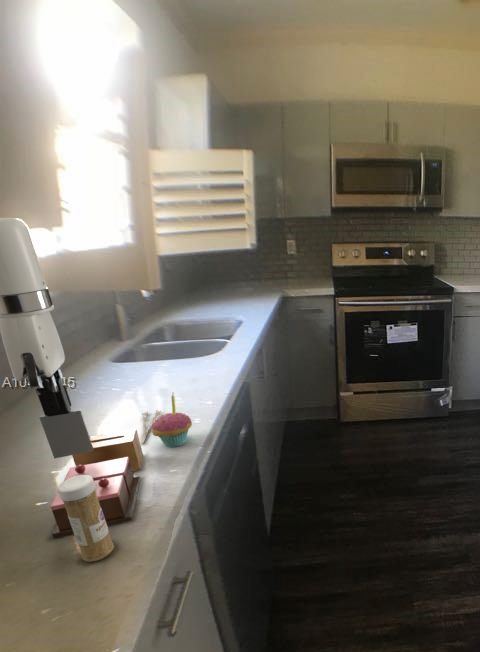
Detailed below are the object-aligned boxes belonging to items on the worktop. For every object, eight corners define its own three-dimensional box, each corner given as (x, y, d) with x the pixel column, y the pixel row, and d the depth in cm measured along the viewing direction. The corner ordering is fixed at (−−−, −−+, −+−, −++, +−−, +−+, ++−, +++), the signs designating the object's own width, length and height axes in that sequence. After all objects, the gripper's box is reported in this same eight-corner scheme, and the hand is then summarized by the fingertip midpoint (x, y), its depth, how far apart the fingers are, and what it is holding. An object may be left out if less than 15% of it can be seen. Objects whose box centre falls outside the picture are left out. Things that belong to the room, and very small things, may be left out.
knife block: (80, 481, 93) (70, 451, 90) (87, 466, 98) (78, 438, 96) (140, 470, 96) (132, 441, 94) (143, 456, 102) (136, 428, 99)
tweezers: (143, 415, 122) (141, 408, 121) (162, 412, 123) (160, 406, 122) (132, 450, 107) (130, 443, 106) (155, 446, 108) (153, 439, 107)
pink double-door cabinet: (53, 538, 77) (39, 501, 74) (73, 492, 89) (62, 460, 87) (131, 520, 81) (121, 485, 78) (140, 479, 93) (132, 447, 90)
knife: (53, 460, 79) (25, 385, 74) (55, 455, 80) (28, 381, 75) (92, 452, 81) (68, 379, 75) (94, 448, 82) (70, 375, 77)
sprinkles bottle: (116, 554, 73) (93, 483, 68) (82, 567, 71) (57, 494, 66) (112, 539, 76) (91, 470, 71) (81, 550, 74) (56, 480, 69)
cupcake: (178, 431, 113) (167, 386, 108) (203, 437, 109) (193, 391, 105) (147, 447, 105) (135, 399, 101) (173, 454, 102) (162, 406, 97)
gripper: (11, 297, 76) (46, 398, 83) (-31, 316, 62) (16, 436, 69) (63, 292, 78) (93, 391, 85) (34, 310, 65) (73, 426, 72)
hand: (58, 410), depth 77 cm, fingers closed on knife, 1 cm apart
